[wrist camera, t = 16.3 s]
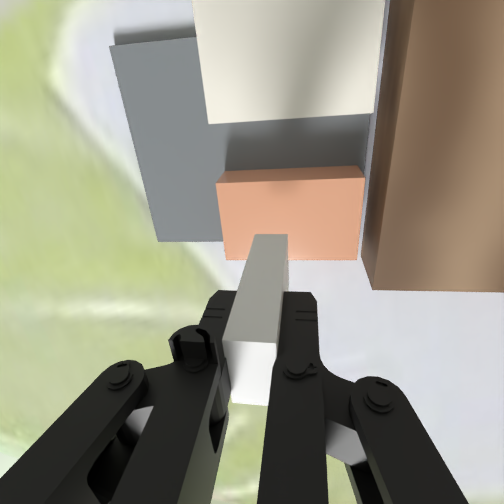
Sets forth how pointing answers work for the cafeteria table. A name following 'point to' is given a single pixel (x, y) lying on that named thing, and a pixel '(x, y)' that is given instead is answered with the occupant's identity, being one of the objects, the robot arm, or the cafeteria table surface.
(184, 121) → the mat
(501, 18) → the deck
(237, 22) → the cream tile
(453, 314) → the cafeteria table surface
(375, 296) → the cafeteria table surface
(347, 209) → the terracotta tile
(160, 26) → the cafeteria table surface
